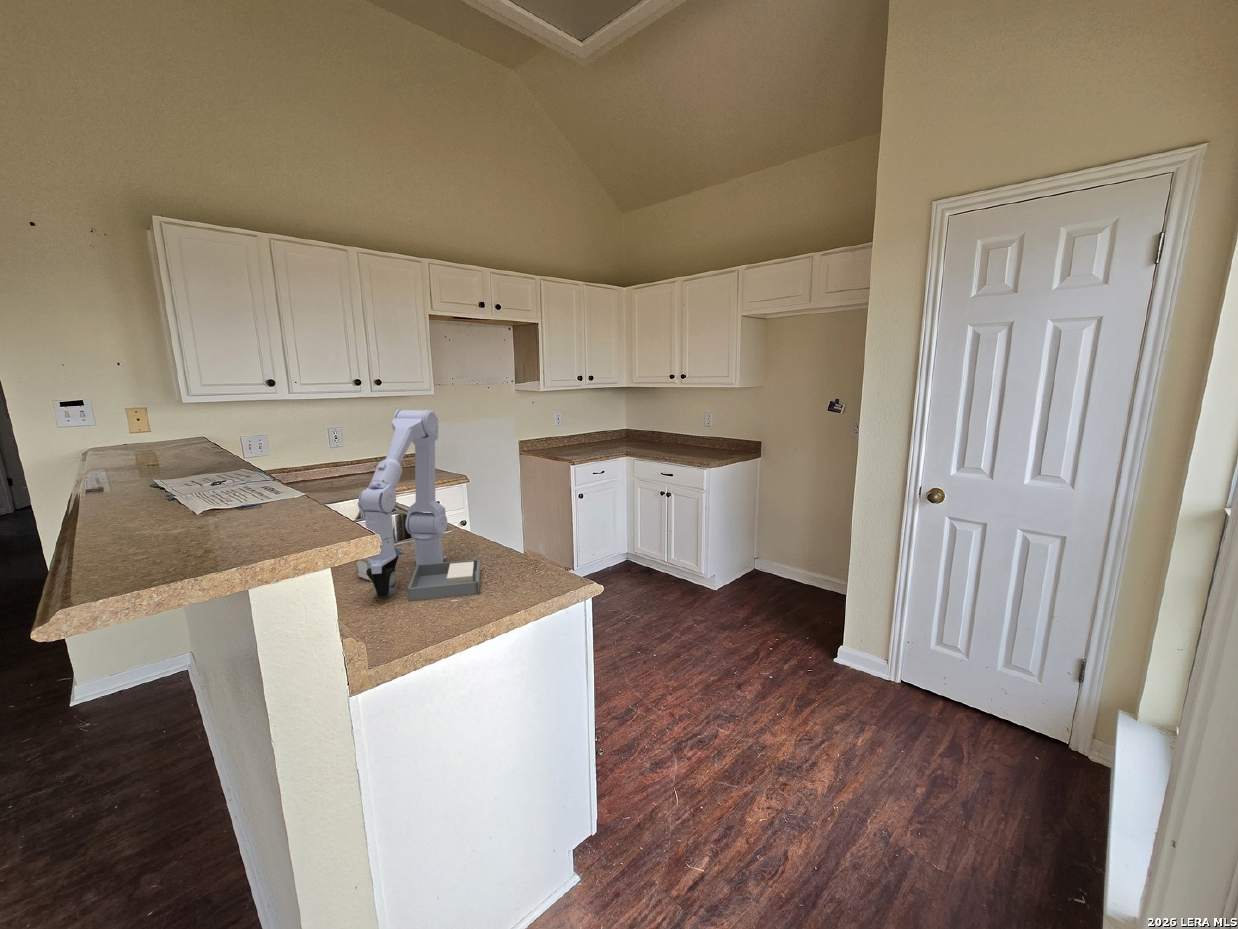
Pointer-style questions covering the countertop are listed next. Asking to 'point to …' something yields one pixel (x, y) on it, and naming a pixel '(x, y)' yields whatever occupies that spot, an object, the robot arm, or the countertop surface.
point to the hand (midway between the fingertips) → (385, 591)
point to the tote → (440, 582)
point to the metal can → (391, 586)
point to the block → (460, 573)
